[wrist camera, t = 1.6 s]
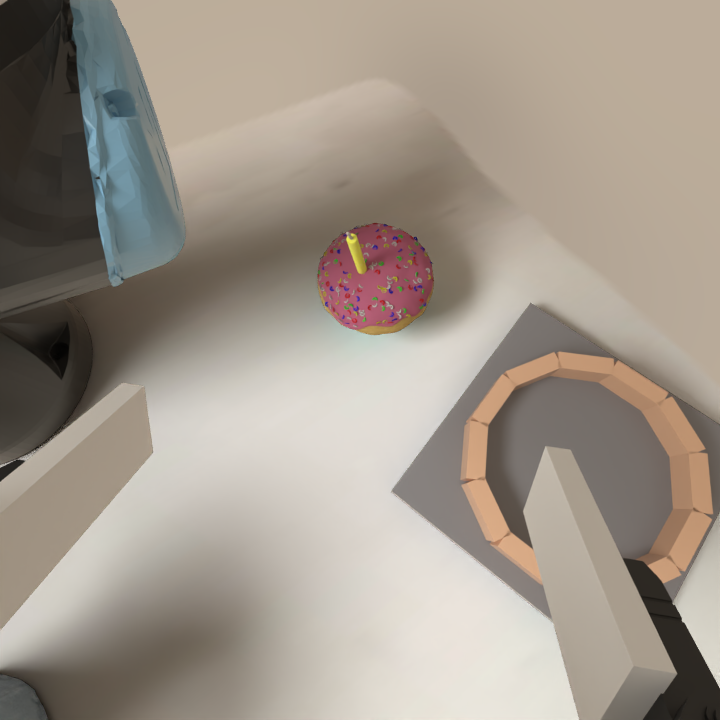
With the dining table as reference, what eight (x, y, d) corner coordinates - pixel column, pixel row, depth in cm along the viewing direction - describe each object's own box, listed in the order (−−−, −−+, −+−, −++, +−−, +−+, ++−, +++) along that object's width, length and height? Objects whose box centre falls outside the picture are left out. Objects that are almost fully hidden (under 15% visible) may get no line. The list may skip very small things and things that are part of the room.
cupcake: (364, 374, 35) (363, 309, 24) (302, 296, 38) (273, 203, 26) (448, 311, 37) (483, 223, 26) (383, 241, 39) (388, 130, 28)
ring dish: (390, 491, 33) (393, 489, 29) (524, 310, 37) (539, 291, 34) (617, 674, 29) (649, 696, 25) (737, 449, 33) (778, 442, 30)
